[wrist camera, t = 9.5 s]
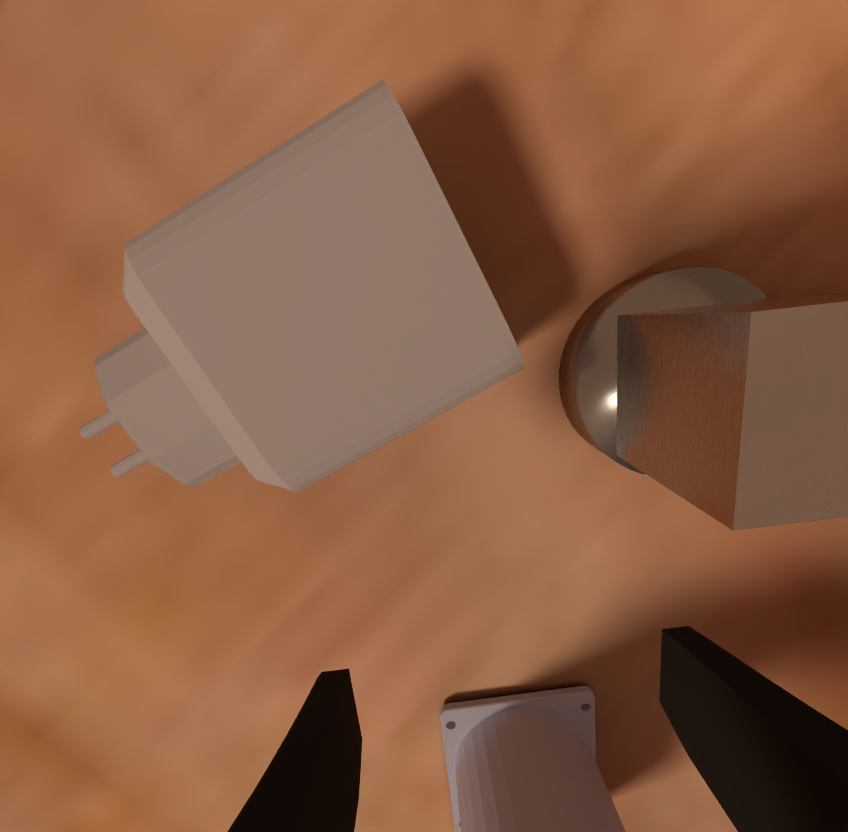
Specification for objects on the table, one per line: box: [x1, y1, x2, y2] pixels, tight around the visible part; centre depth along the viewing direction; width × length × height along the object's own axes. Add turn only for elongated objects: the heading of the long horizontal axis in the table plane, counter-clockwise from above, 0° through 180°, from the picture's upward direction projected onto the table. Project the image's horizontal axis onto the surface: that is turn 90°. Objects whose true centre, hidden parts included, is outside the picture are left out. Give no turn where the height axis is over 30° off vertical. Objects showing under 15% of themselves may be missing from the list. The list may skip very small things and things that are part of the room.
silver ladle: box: [559, 267, 768, 474], centre depth 15 cm, size 8×19×5 cm, turn 97°
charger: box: [80, 80, 524, 492], centre depth 14 cm, size 5×9×15 cm
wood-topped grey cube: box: [617, 294, 848, 531], centre depth 12 cm, size 5×5×6 cm
